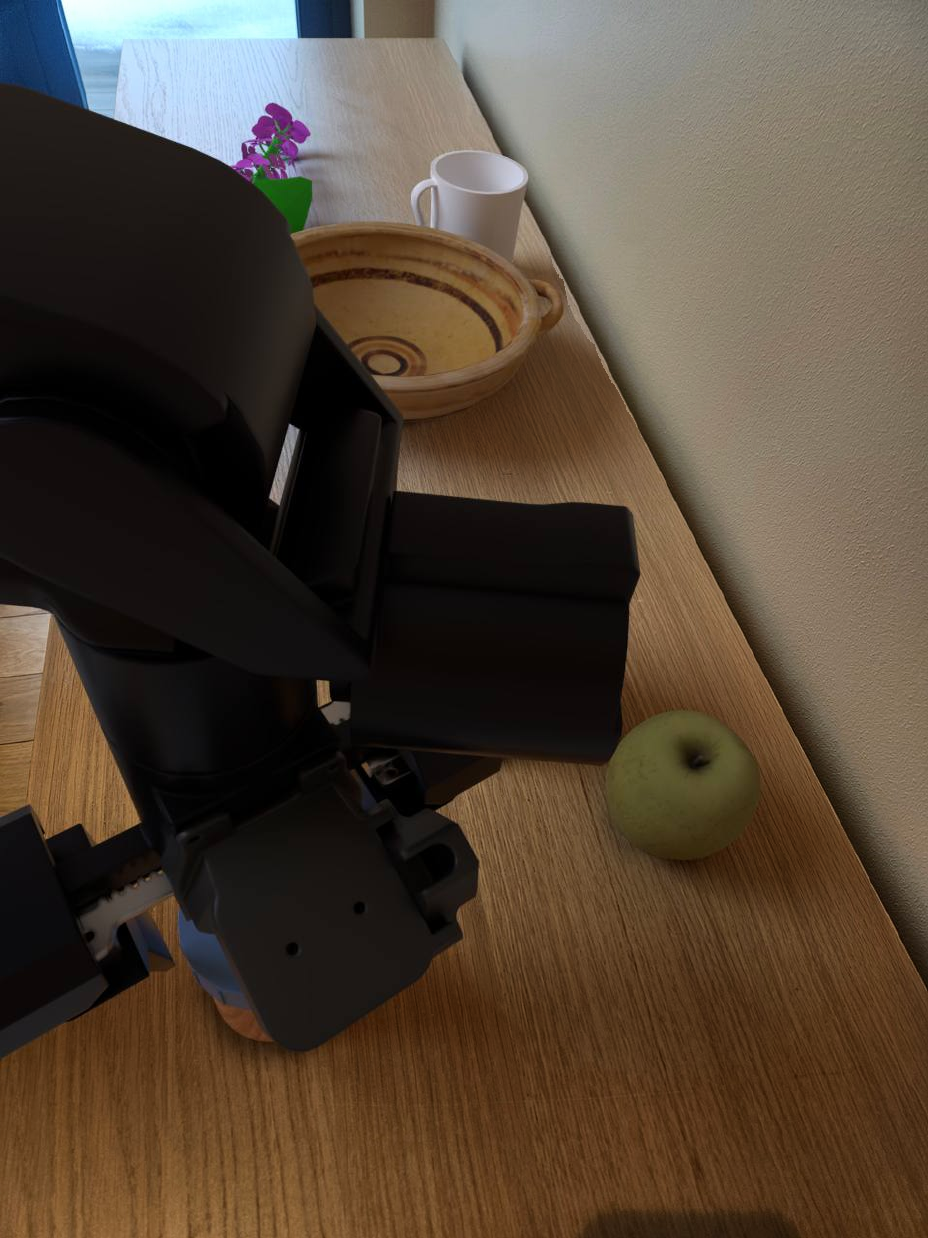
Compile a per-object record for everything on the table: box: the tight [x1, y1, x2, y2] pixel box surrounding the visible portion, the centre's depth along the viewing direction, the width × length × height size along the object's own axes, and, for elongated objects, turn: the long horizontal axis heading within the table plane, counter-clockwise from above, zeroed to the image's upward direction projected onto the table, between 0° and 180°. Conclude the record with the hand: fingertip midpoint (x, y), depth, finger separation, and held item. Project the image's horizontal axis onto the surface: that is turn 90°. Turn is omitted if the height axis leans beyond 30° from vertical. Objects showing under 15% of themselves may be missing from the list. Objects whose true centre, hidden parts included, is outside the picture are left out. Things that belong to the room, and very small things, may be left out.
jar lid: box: [177, 906, 251, 1010], centre depth 36 cm, size 7×7×2 cm
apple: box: [604, 709, 762, 861], centre depth 46 cm, size 8×8×7 cm
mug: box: [410, 149, 529, 264], centre depth 81 cm, size 11×9×10 cm
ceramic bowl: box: [290, 220, 565, 423], centre depth 70 cm, size 30×24×8 cm
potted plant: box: [229, 102, 313, 234], centre depth 85 cm, size 12×16×35 cm
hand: (259, 904), depth 35 cm, fingers open, 7 cm apart
